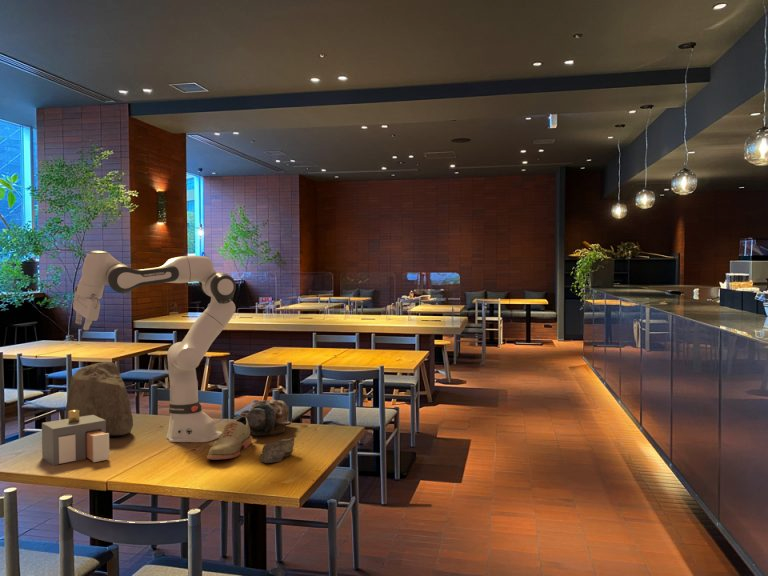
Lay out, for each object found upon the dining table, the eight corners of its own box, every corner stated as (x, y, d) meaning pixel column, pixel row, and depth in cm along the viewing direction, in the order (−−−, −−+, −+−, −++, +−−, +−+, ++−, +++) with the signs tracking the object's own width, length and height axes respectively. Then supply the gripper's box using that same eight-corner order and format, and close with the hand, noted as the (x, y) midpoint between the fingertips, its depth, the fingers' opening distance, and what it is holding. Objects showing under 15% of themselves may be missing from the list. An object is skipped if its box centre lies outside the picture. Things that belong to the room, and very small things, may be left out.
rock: (275, 439, 228) (298, 434, 225) (279, 456, 227) (302, 452, 224) (250, 449, 212) (273, 444, 209) (254, 468, 212) (278, 464, 208)
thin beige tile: (75, 460, 216) (75, 434, 216) (59, 463, 212) (59, 437, 212) (64, 453, 225) (64, 428, 225) (48, 456, 221) (48, 431, 221)
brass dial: (81, 420, 224) (81, 410, 223) (74, 423, 220) (74, 412, 220) (73, 420, 224) (73, 409, 224) (66, 422, 221) (66, 411, 221)
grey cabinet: (106, 454, 224) (105, 420, 224) (53, 465, 212) (52, 429, 211) (93, 447, 233) (93, 414, 233) (42, 457, 221) (41, 422, 221)
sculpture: (291, 439, 245) (291, 405, 245) (238, 442, 241) (237, 407, 241) (289, 424, 270) (289, 393, 270) (241, 426, 266) (240, 395, 266)
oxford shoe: (198, 466, 210) (198, 433, 210) (226, 441, 242) (226, 413, 242) (230, 466, 210) (230, 433, 210) (253, 442, 242) (253, 413, 241)
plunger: (109, 459, 218) (109, 433, 217) (93, 462, 214) (93, 436, 214) (96, 452, 226) (96, 427, 226) (81, 455, 223) (81, 430, 222)
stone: (89, 422, 276) (88, 357, 275) (157, 425, 269) (157, 359, 269) (49, 436, 251) (48, 365, 251) (123, 440, 245) (122, 367, 244)
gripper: (107, 298, 223) (98, 334, 224) (90, 288, 238) (82, 321, 239) (89, 296, 219) (81, 332, 220) (73, 285, 234) (65, 319, 234)
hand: (81, 326), depth 229 cm, fingers open, 8 cm apart
